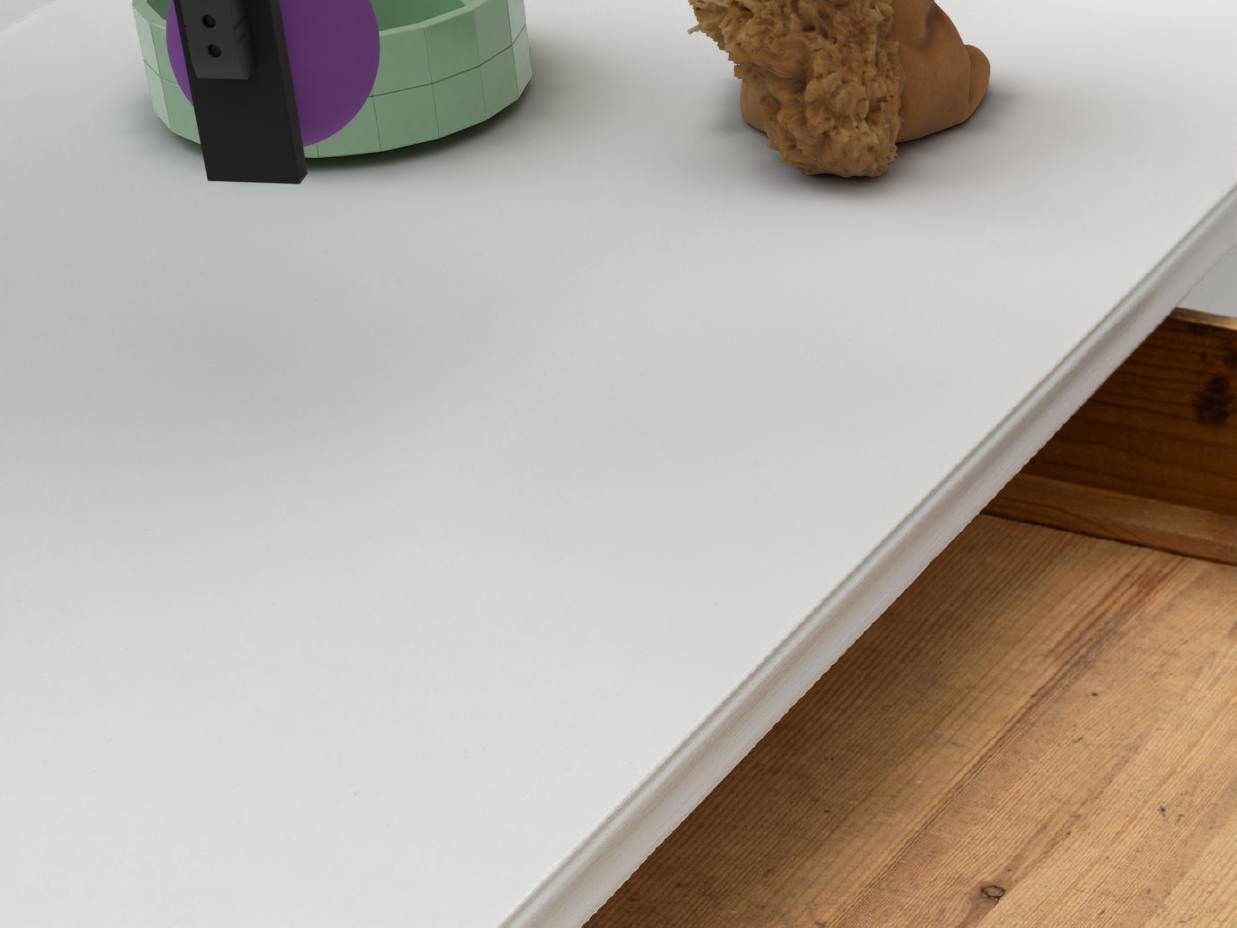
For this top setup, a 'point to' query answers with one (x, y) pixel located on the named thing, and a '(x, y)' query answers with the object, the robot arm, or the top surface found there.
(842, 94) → the stuffed squirrel
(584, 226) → the top surface
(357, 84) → the ball
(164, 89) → the bowl
